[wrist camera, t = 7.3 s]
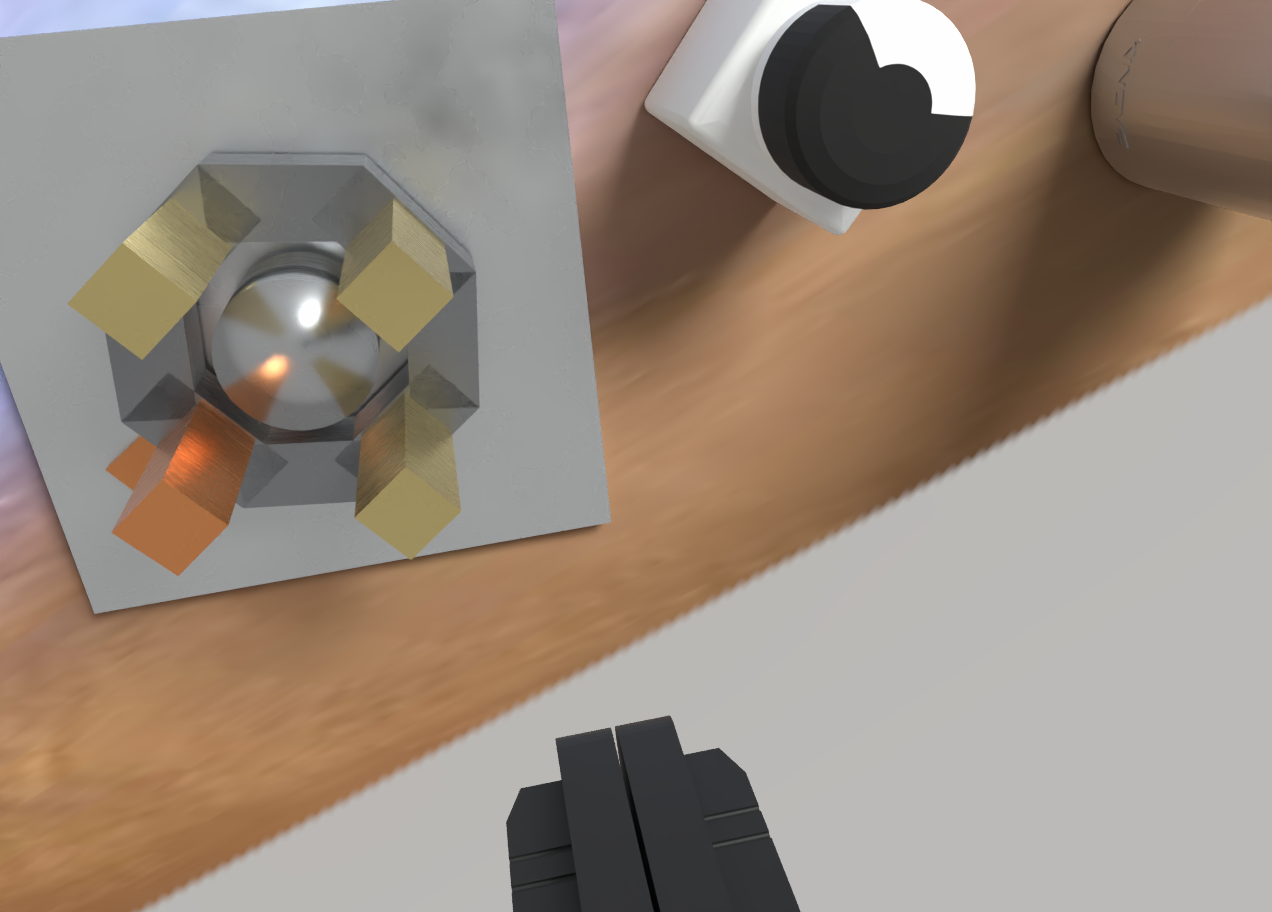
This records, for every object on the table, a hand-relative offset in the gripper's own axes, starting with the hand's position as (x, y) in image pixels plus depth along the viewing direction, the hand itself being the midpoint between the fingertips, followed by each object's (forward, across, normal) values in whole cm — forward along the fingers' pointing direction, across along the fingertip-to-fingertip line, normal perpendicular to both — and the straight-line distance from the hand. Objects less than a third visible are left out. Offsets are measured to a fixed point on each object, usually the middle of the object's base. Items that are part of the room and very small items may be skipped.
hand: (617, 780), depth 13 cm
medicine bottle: (+32, -11, -5) cm, 34 cm away
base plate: (+31, +8, +1) cm, 32 cm away
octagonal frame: (+29, +8, +1) cm, 30 cm away
